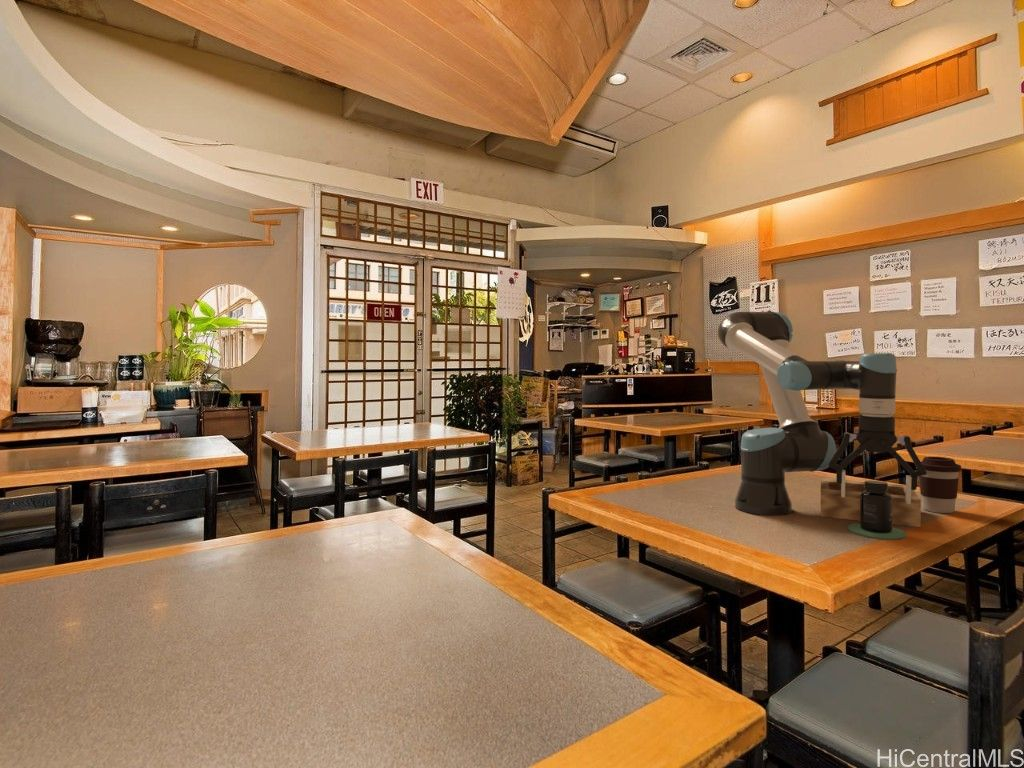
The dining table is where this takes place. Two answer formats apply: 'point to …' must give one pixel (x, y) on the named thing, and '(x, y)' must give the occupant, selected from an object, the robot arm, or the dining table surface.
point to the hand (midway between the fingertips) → (874, 499)
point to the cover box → (850, 503)
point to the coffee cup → (939, 484)
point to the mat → (892, 535)
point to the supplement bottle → (876, 508)
